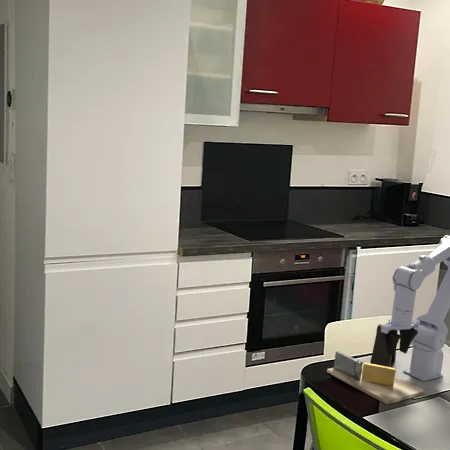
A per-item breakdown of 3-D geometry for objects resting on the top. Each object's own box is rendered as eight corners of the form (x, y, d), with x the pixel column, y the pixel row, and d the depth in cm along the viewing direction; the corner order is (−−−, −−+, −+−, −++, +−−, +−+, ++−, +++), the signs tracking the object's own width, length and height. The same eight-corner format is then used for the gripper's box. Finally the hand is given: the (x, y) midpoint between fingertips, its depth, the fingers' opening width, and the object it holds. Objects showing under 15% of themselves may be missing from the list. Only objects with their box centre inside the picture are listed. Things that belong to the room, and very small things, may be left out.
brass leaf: (361, 378, 188) (364, 362, 187) (393, 384, 186) (395, 368, 185) (361, 380, 187) (363, 363, 186) (393, 386, 185) (395, 369, 184)
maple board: (364, 364, 203) (364, 361, 203) (424, 394, 185) (425, 390, 184) (326, 372, 194) (327, 368, 194) (386, 404, 175) (387, 401, 175)
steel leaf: (337, 367, 196) (339, 350, 195) (361, 380, 188) (364, 362, 187) (333, 368, 195) (335, 351, 194) (357, 381, 187) (359, 363, 186)
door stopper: (388, 369, 201) (393, 332, 199) (369, 364, 204) (374, 328, 202) (395, 360, 209) (400, 325, 207) (377, 356, 211) (381, 321, 209)
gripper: (408, 302, 193) (402, 345, 196) (375, 307, 185) (369, 352, 187) (428, 309, 188) (421, 353, 190) (394, 314, 179) (388, 360, 182)
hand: (396, 353), depth 188 cm, fingers open, 5 cm apart
